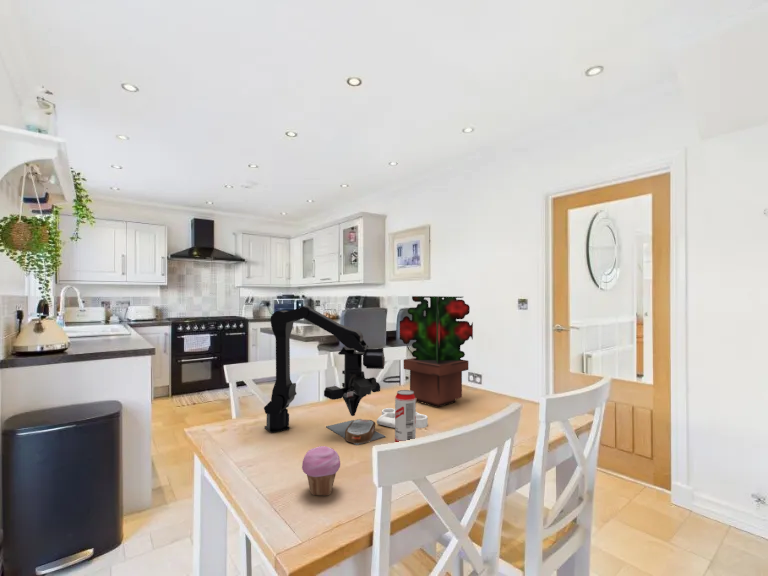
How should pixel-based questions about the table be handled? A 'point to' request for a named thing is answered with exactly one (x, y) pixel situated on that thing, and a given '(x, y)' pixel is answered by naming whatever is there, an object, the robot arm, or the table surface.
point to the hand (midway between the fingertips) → (352, 415)
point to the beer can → (405, 415)
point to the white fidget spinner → (389, 419)
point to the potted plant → (436, 348)
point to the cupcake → (321, 469)
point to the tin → (360, 431)
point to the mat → (342, 427)
